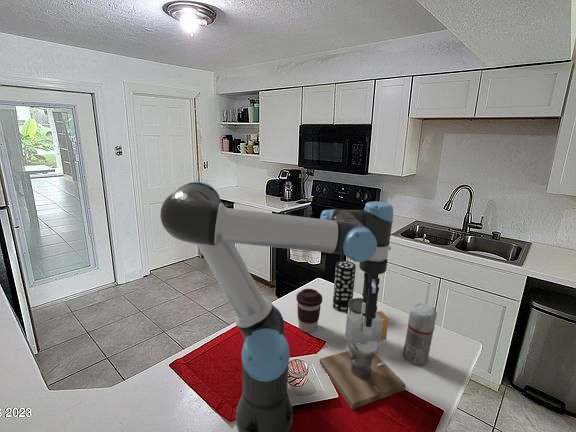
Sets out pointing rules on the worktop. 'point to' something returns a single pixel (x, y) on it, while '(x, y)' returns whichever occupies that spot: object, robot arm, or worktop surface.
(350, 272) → the white-spotted black cylinder
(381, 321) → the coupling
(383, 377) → the base
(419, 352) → the spray can
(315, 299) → the coffee cup
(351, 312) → the coffee can
